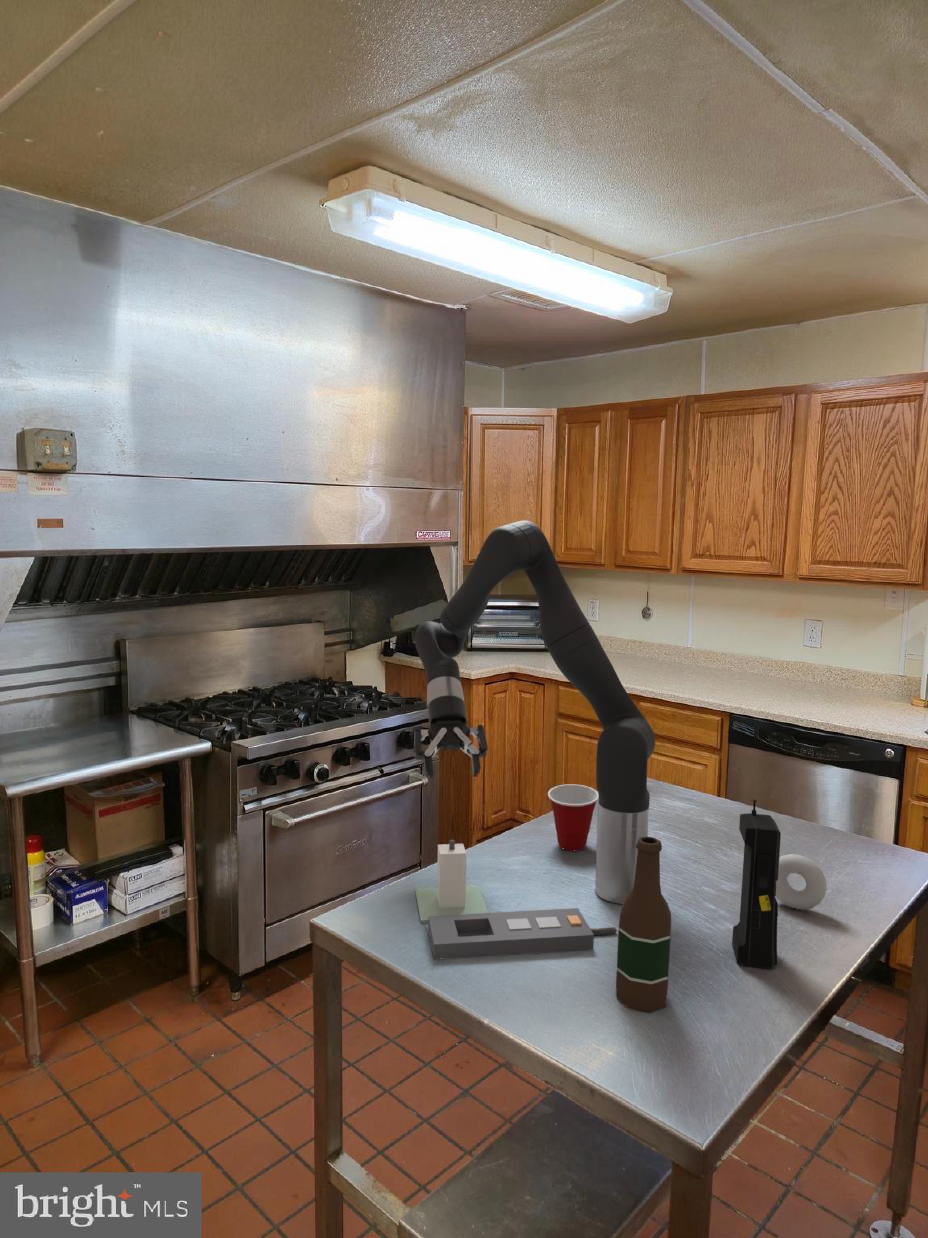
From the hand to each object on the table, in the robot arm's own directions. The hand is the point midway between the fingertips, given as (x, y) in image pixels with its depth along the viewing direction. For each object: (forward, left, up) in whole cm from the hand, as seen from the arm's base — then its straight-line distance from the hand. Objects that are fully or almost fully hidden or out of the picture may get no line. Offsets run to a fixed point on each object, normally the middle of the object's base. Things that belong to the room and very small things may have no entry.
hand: (453, 776), depth 151 cm
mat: (+2, +11, -20) cm, 23 cm away
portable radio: (-44, +34, -20) cm, 60 cm away
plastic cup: (-27, -12, -20) cm, 36 cm away
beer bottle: (-22, +42, -20) cm, 52 cm away
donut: (-60, +19, -20) cm, 67 cm away
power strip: (-9, +24, -20) cm, 33 cm away
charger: (+2, +11, -20) cm, 23 cm away
